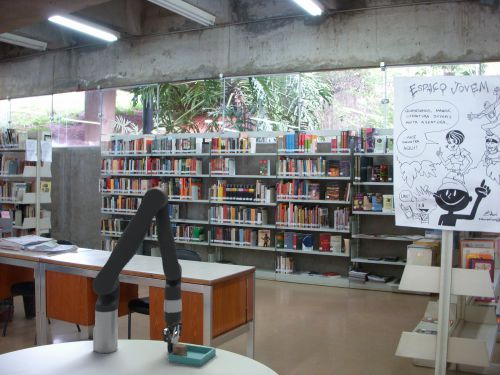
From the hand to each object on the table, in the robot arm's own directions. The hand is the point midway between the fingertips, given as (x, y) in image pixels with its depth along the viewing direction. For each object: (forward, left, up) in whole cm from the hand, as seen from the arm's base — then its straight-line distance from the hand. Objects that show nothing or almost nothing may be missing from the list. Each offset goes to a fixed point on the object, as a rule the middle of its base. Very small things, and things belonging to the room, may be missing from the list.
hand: (172, 349), depth 214 cm
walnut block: (+8, -8, 0) cm, 11 cm away
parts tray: (+12, -5, 0) cm, 13 cm away
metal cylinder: (0, 0, 0) cm, 0 cm away
